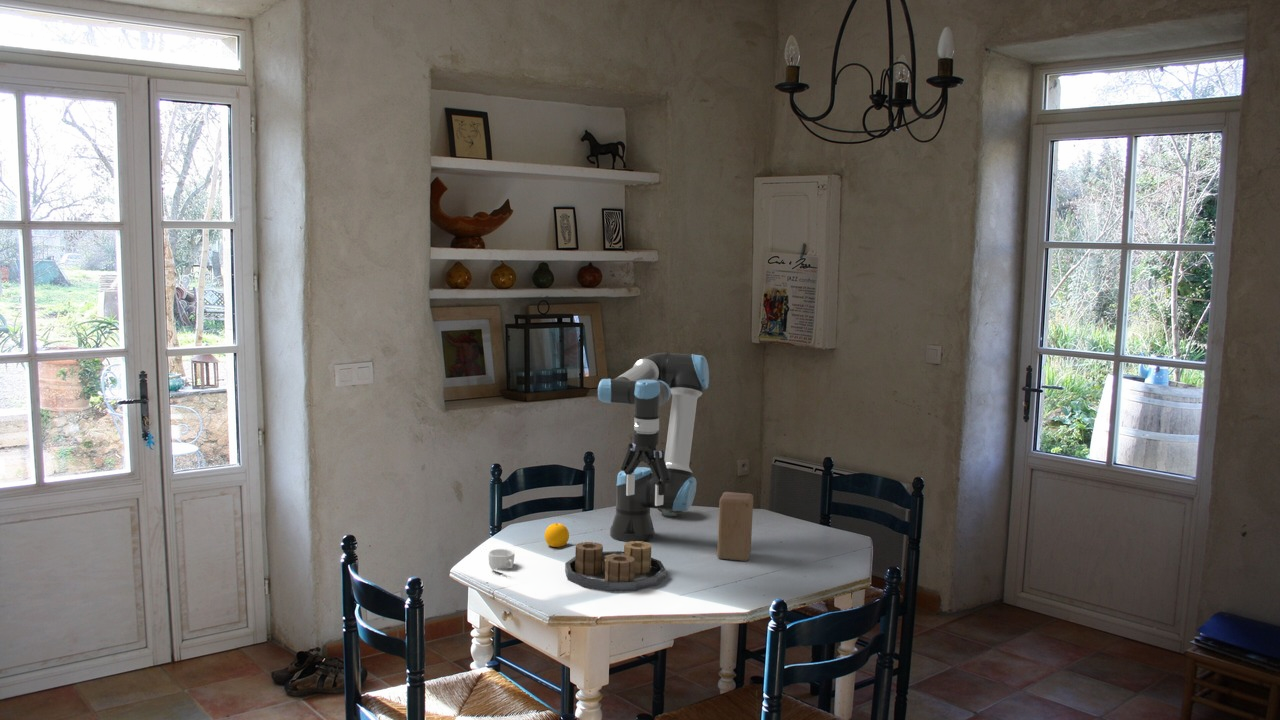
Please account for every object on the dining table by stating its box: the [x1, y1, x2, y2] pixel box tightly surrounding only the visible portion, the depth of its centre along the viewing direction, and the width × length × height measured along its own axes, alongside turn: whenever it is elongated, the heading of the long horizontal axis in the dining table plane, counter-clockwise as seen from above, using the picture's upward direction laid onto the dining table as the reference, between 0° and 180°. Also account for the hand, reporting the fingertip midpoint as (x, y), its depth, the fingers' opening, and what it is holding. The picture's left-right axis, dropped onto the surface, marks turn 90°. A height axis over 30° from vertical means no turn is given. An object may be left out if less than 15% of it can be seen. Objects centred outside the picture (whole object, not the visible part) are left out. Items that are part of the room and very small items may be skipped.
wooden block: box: [716, 491, 754, 562], centre depth 317 cm, size 10×10×20 cm
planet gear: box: [623, 541, 652, 574], centre depth 296 cm, size 8×8×8 cm
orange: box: [544, 522, 570, 548], centre depth 322 cm, size 8×8×8 cm
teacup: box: [487, 548, 515, 573], centre depth 295 cm, size 10×8×5 cm
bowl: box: [657, 509, 683, 518], centre depth 365 cm, size 14×14×8 cm
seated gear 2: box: [605, 554, 635, 581], centre depth 282 cm, size 8×8×8 cm
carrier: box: [564, 550, 666, 593], centre depth 291 cm, size 29×29×8 cm
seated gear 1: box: [574, 541, 604, 575], centre depth 294 cm, size 8×8×8 cm
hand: (644, 500), depth 299 cm, fingers open, 13 cm apart
